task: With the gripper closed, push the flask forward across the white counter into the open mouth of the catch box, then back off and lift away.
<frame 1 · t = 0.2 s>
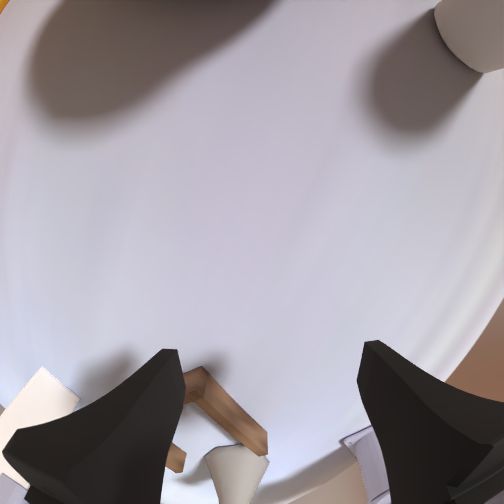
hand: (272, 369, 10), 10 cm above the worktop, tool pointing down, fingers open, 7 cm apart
milk: (57, 391, 25), on the worktop
flask: (237, 457, 27), on the worktop
catch box: (191, 422, 25), on the worktop
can: (460, 38, 13), on the worktop
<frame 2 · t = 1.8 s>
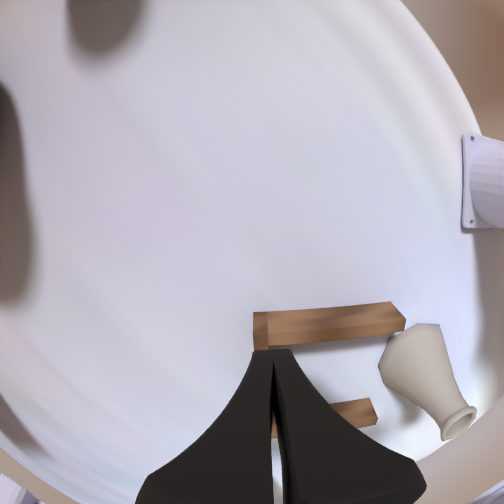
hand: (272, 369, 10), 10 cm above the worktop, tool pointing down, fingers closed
flask: (410, 352, 22), on the worktop
catch box: (326, 367, 22), on the worktop
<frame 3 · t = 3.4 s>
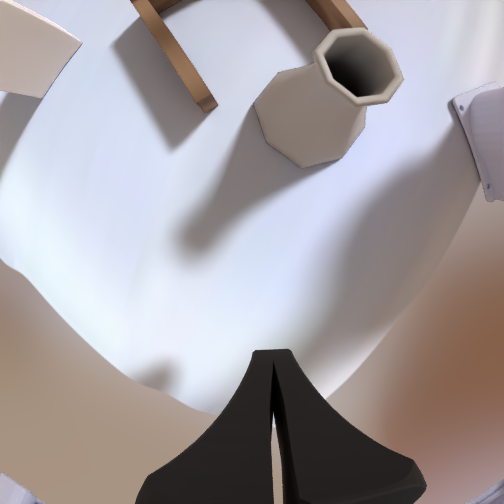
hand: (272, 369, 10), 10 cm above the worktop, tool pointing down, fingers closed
milk: (49, 59, 15), on the worktop
flask: (309, 114, 17), on the worktop
catch box: (247, 22, 15), on the worktop
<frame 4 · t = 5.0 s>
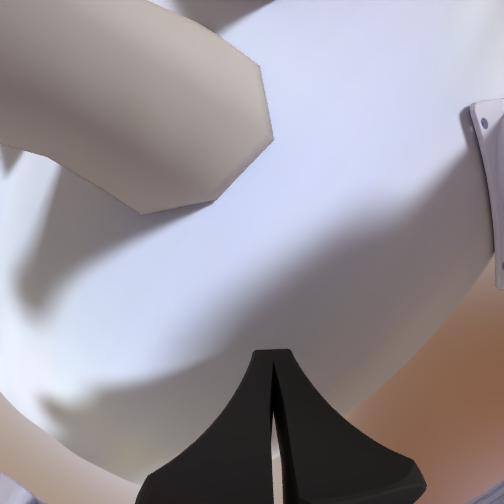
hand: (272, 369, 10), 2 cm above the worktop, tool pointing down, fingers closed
flask: (173, 116, 9), on the worktop
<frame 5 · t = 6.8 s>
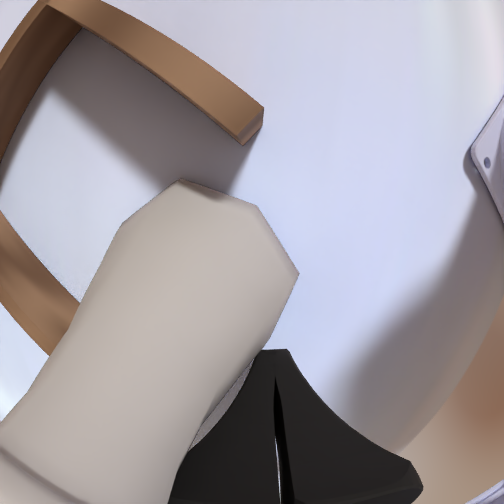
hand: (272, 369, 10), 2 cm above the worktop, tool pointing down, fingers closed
flask: (197, 278, 11), on the worktop, touching gripper
catch box: (74, 169, 10), on the worktop
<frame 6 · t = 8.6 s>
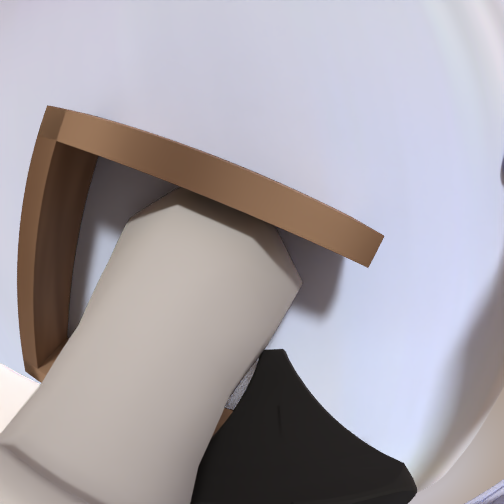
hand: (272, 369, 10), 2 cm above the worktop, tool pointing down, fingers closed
milk: (28, 396, 15), on the worktop
flask: (201, 279, 11), on the worktop, touching catch box, gripper
catch box: (172, 302, 11), on the worktop
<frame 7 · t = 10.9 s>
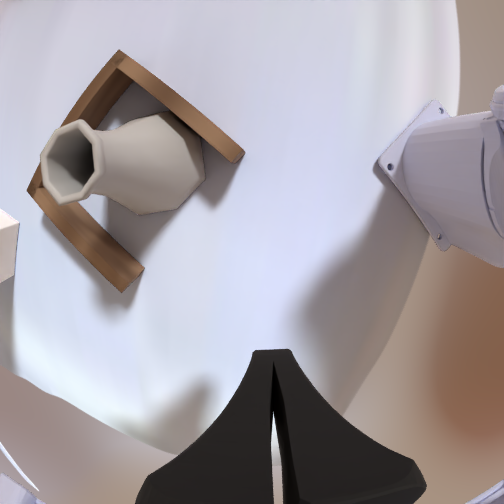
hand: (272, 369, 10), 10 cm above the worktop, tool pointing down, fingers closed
milk: (1, 236, 20), on the worktop
flask: (156, 162, 18), on the worktop
catch box: (135, 172, 18), on the worktop
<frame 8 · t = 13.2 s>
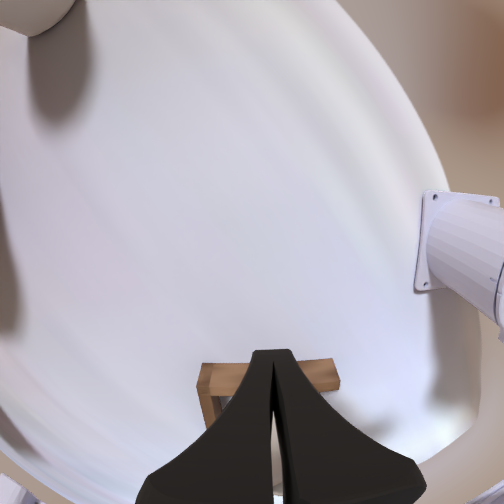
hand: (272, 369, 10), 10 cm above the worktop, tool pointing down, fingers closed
flask: (281, 396, 24), on the worktop
catch box: (273, 408, 24), on the worktop
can: (55, 8, 13), on the worktop
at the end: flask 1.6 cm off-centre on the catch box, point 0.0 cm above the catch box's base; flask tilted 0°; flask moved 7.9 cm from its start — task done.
